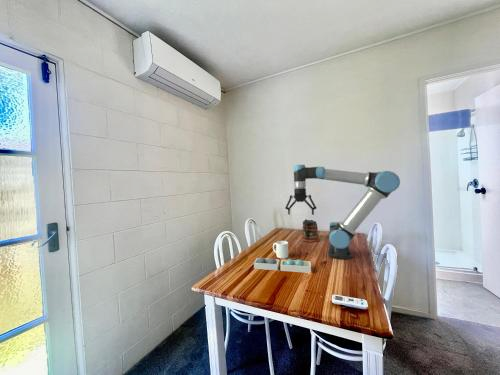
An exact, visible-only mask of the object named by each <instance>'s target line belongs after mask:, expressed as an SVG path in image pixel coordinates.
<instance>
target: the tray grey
mask: <svg viewBox="0 0 500 375" xmlns="http://www.w3.org/2000/svg"><path fill="white" fill-rule="evenodd" d="M259 258H260V257H257V258H256V259H255V261H254V262H253V269H254V270H266V271H267V270H268V271H279V267H280V258H279V259H278V258H276V259H275V258H274V259H275V260H276V264H267V261H268V259H269V258H265V260H266V263H257V260H258V259H259Z"/></svg>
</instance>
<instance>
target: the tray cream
mask: <svg viewBox="0 0 500 375" xmlns="http://www.w3.org/2000/svg"><path fill="white" fill-rule="evenodd" d="M286 260H287V259H281V262H280V264H279V267H280V271H281V272H291V273H292V272H293V273H294V272H295V273H304V274H312V265H311V264H312V263H311V260H309V261H307V260H302V261H303V262H304V266H295V261H296V260H297V259H296V260H295V259H294V260H293V259H292V260H293V261H294V265H285V262H286Z"/></svg>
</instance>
